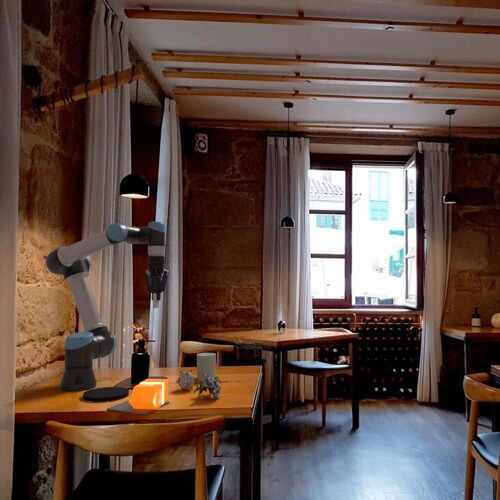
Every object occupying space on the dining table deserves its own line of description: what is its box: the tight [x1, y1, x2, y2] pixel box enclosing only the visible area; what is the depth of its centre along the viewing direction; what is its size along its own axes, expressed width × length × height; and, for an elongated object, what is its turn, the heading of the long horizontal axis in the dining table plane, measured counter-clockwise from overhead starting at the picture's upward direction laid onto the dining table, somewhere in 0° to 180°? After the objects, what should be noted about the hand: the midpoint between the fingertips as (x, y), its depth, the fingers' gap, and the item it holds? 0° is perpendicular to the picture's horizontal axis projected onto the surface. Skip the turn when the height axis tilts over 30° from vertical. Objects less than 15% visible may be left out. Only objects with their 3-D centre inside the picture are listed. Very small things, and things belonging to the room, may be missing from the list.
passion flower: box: [193, 373, 223, 400], centre depth 177 cm, size 11×11×12 cm
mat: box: [106, 399, 170, 416], centre depth 165 cm, size 16×16×1 cm
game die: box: [175, 369, 197, 392], centre depth 191 cm, size 9×8×10 cm
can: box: [196, 352, 217, 382], centre depth 212 cm, size 9×9×12 cm
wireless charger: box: [82, 386, 130, 403], centre depth 181 cm, size 18×18×2 cm
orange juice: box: [128, 378, 169, 410], centre depth 164 cm, size 8×9×20 cm
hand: (156, 307), depth 201 cm, fingers closed
